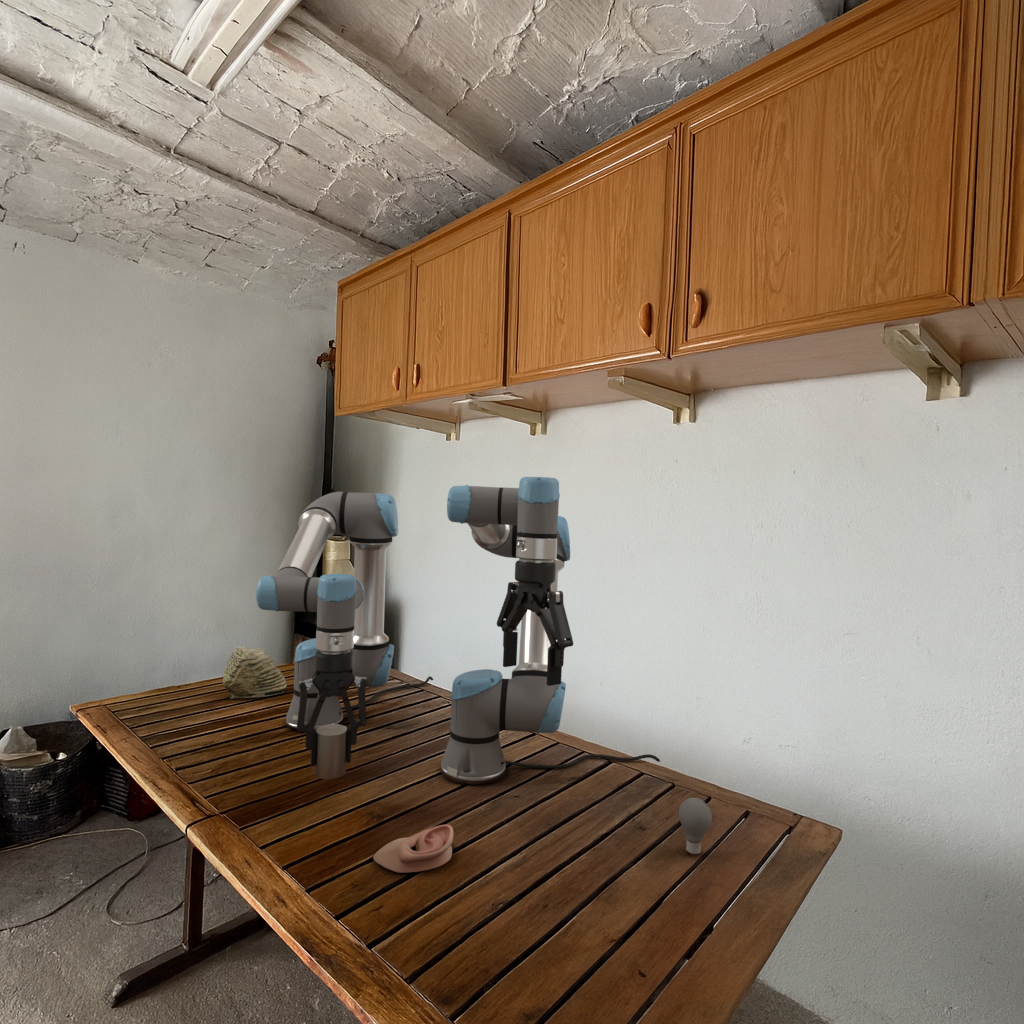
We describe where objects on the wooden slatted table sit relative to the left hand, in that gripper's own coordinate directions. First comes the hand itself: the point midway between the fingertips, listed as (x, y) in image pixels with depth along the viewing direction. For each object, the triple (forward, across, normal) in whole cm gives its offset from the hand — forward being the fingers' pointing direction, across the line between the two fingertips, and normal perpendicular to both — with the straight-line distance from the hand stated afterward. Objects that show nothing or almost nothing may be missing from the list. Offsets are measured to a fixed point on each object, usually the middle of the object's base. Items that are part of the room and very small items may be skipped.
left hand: (330, 761), depth 130 cm
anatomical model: (+9, +13, -23) cm, 28 cm away
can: (+2, 0, 0) cm, 2 cm away
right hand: (-23, +33, -25) cm, 48 cm away
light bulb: (+9, +63, -36) cm, 73 cm away
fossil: (+9, -16, +78) cm, 81 cm away
